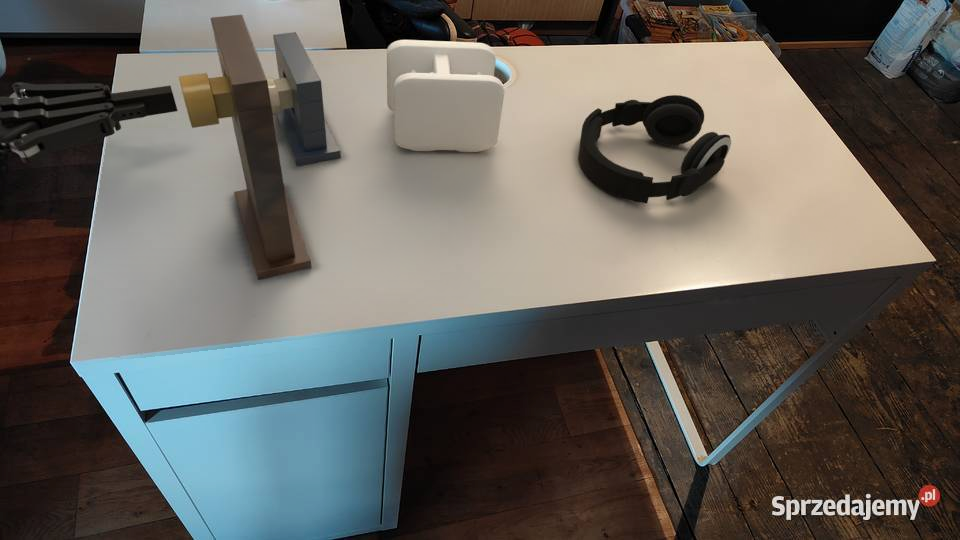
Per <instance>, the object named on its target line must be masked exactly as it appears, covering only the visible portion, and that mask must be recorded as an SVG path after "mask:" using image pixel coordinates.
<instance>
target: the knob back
mask: <svg viewBox="0 0 960 540" xmlns="http://www.w3.org/2000/svg"><path fill="white" fill-rule="evenodd" d="M266 78H267V82H268V88H269V94H270V100H271V107H272V113H273V116H275V114H280V113H281V110H282V109H288V108H294V104H293V96H292V89H291V86H290V83H289V81H288V79H287V78H281V79H279V78H274V77H273V75H267V76H266Z"/></svg>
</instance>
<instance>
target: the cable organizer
mask: <svg viewBox="0 0 960 540" xmlns="http://www.w3.org/2000/svg"><path fill="white" fill-rule="evenodd" d="M496 61H497V59H496V54H495V51H494V49H493V47H491V46H490V45H489V44H486V43H484V42H473V41H472V42H469V41H445V40H420V39H419V40H418V39H398V40H395V41H393V42H391V43H390V44H389V45H388V46H387V49H386V105H387V108H388V109H389V110H390V111H391V112H393V140H394V142H395V144H396V146H399V147H400V148H402V149H406V150H411V151H413V152H434V151H457V152H460V153H461V152H462V153H479V152H481V151H487V150H489V149H492V148H493V147H495V146H496V144H497V143H498V139H499V134H500V133H499V132H500V126H501V118H502V113H503V112H502V111H503V106H504V99H505V89H504V84H503V82H502V80H501V79H499V78H498V77H496V76H495V71H496V70H495V69H496V64H497V63H496Z"/></svg>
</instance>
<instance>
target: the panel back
mask: <svg viewBox="0 0 960 540" xmlns="http://www.w3.org/2000/svg"><path fill="white" fill-rule="evenodd" d="M272 39H273V44H274V50H275V58H276V59H275V60H276V64H277V73H278V79H281V78H287V79H288V81H289V83H290V86H291V89H292V96H293V104H294V108H288V109H282V110H281V113H280V114H275V115H274V116H275V119H276V122H277V123H278V126H279V128H280V131H281V133H282V136H283V138H284V140H285V143H286V146H287V148H288V150H289V152H290V155H291V157H292V159H293V161H294V165H295V166H296V167H300V166H305V165H309V164H314V163H320V162H325V161H332V160H337V159H341V158H342V154H341V153H342V152H341V149H340V147H339V145H338V143H337V141H336V139H335V137H334V135H333V132H332V131H331V128H330V126H329V124H328V123H327V120H326V119H325V108H324V99H323V98H324V97H323V86H322V80H321V78H320V76H319V74H318V72H317V70H316V67H315V66H314V64H313V62H312V60H311V58H310V57H309V54H308V52H307V51H306V49H305V47H304V44H303V43H302V41H301V39H300V37H299V35H298V34H297V31H292V32H284V33H277V34H272Z"/></svg>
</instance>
